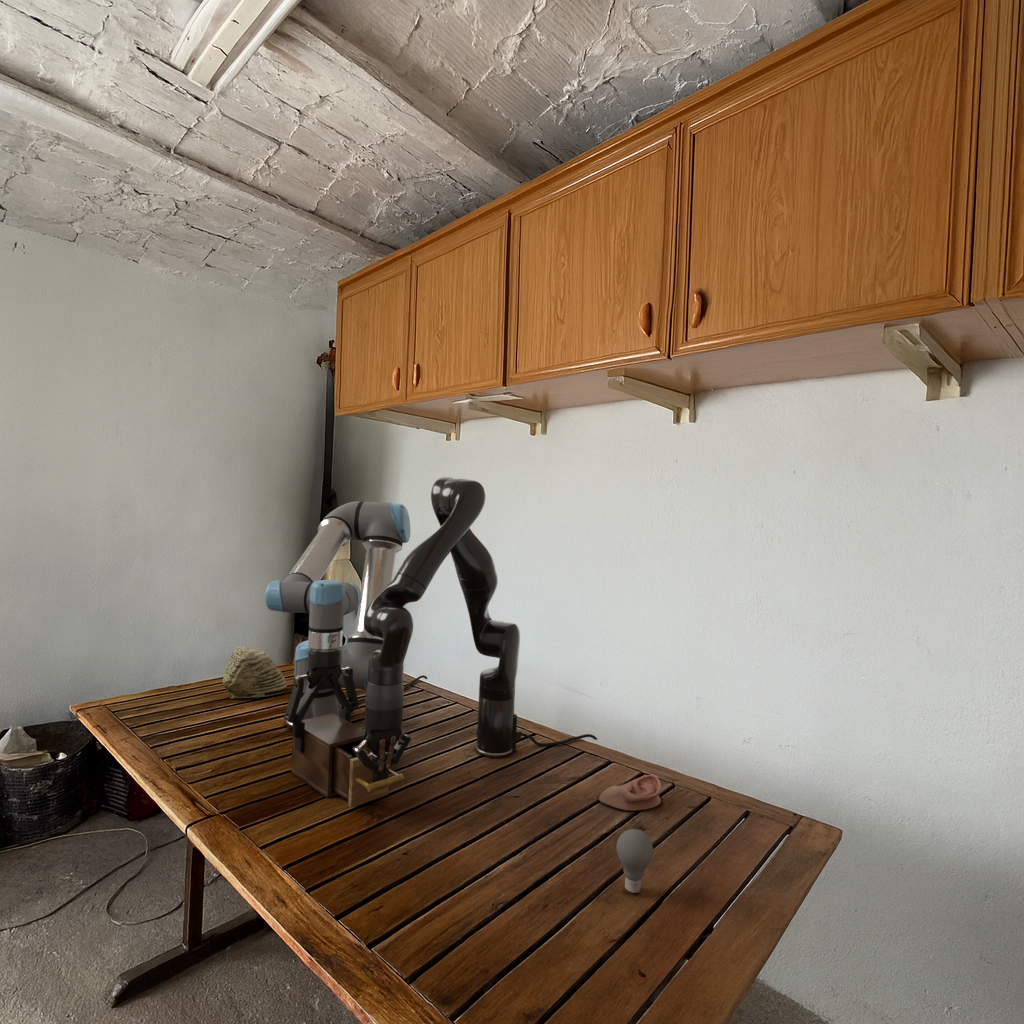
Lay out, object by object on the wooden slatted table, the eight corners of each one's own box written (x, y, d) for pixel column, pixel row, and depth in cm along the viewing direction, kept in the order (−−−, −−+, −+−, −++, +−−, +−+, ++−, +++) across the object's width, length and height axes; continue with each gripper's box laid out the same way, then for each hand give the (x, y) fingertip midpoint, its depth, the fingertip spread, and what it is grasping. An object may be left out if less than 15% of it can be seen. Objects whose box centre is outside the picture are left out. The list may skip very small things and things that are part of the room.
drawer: (404, 805, 130) (406, 758, 130) (367, 819, 124) (369, 770, 124) (349, 770, 145) (351, 728, 145) (313, 781, 139) (315, 737, 139)
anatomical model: (598, 788, 134) (602, 766, 145) (597, 806, 134) (601, 783, 146) (662, 796, 132) (661, 774, 143) (662, 815, 132) (660, 791, 143)
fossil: (218, 695, 195) (220, 647, 195) (278, 685, 208) (279, 640, 207) (228, 703, 189) (230, 653, 188) (289, 692, 201) (290, 645, 201)
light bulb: (610, 879, 108) (613, 822, 108) (644, 879, 109) (647, 822, 109) (619, 902, 102) (622, 840, 102) (655, 901, 103) (658, 840, 103)
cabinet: (369, 784, 141) (371, 733, 140) (327, 798, 133) (329, 744, 133) (331, 760, 152) (332, 713, 152) (291, 771, 145) (292, 722, 145)
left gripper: (285, 659, 134) (281, 762, 135) (376, 645, 151) (373, 737, 151) (269, 652, 140) (266, 751, 140) (359, 639, 156) (356, 728, 156)
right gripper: (365, 714, 121) (361, 804, 121) (422, 701, 130) (417, 784, 131) (345, 703, 126) (341, 789, 127) (400, 691, 135) (397, 771, 136)
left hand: (321, 744), depth 146 cm, fingers closed on cabinet, 10 cm apart
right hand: (380, 786), depth 129 cm, fingers closed
